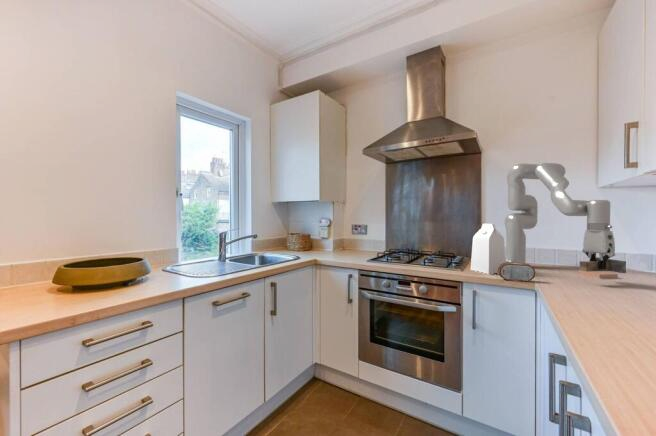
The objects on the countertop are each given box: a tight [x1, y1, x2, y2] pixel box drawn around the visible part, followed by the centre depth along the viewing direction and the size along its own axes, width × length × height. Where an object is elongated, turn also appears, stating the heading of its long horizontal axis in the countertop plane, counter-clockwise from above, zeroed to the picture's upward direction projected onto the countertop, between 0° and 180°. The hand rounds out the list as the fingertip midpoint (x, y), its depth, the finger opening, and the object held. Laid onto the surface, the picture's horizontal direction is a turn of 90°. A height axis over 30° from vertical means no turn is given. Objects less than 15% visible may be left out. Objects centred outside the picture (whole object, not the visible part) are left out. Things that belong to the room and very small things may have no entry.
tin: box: [497, 262, 536, 282], centre depth 133 cm, size 15×3×8 cm, turn 74°
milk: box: [470, 222, 506, 275], centre depth 153 cm, size 12×12×26 cm
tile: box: [578, 269, 619, 279], centre depth 143 cm, size 2×10×10 cm
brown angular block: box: [579, 256, 627, 274], centre depth 127 cm, size 14×12×5 cm
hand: (597, 268), depth 127 cm, fingers closed on brown angular block, 3 cm apart
